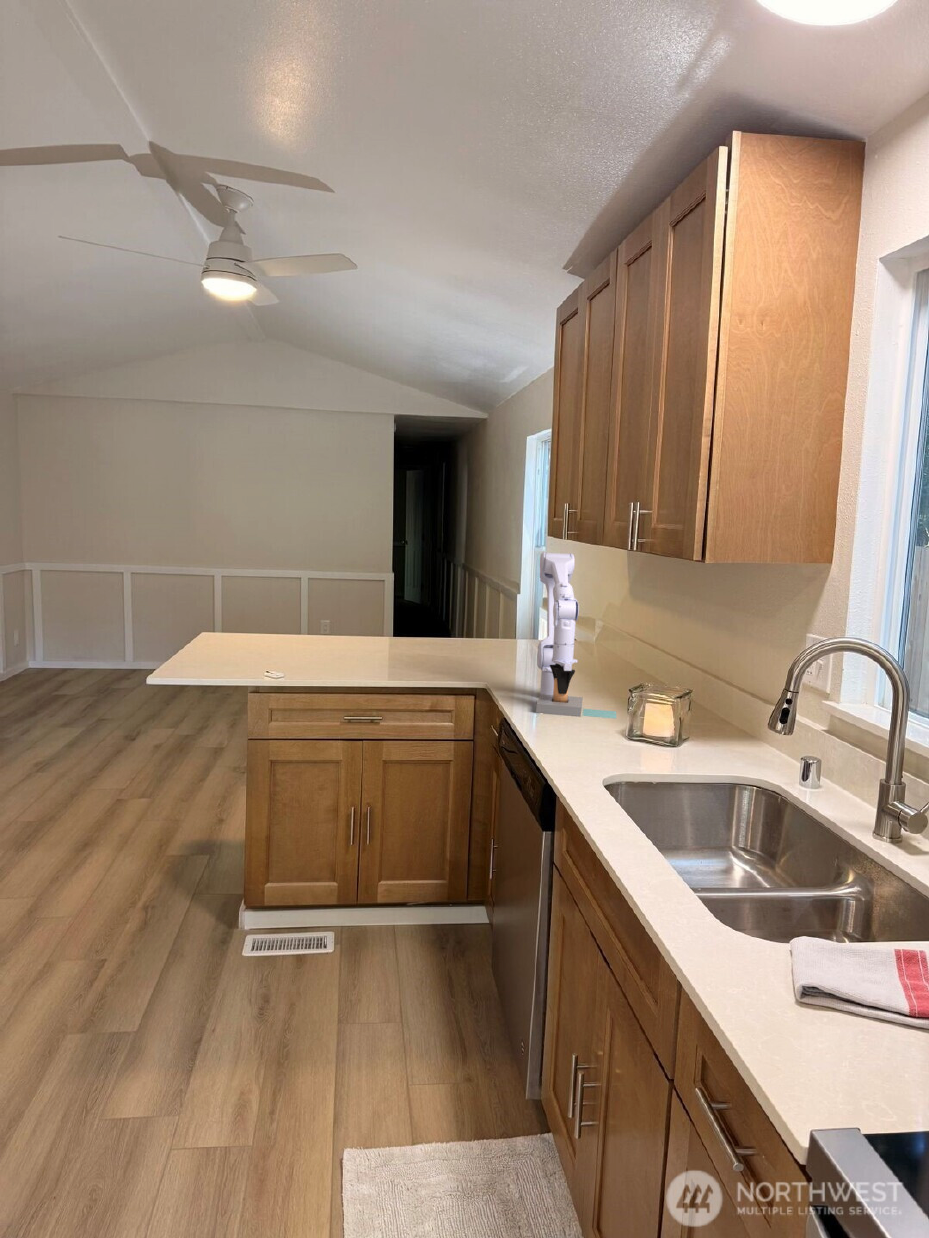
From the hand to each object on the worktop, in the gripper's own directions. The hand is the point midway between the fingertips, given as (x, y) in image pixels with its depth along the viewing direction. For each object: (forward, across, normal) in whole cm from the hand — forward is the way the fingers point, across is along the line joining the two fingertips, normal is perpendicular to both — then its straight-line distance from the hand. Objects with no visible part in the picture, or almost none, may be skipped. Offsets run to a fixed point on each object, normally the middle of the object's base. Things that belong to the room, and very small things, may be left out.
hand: (560, 692), depth 235 cm
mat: (+5, -4, -10) cm, 12 cm away
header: (+5, 0, 0) cm, 5 cm away
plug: (+3, 0, 0) cm, 3 cm away
